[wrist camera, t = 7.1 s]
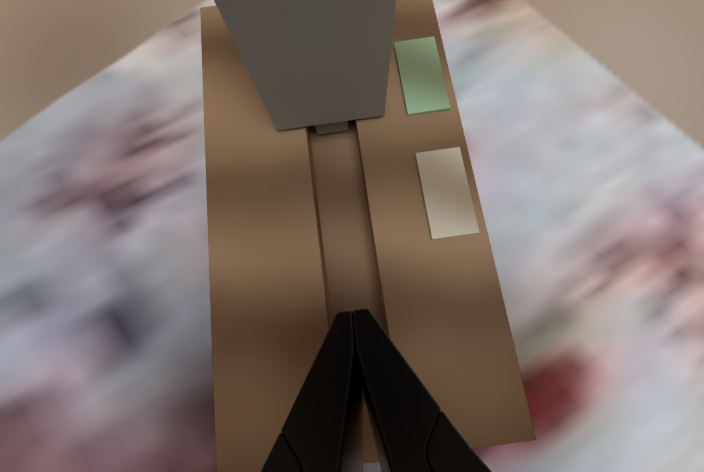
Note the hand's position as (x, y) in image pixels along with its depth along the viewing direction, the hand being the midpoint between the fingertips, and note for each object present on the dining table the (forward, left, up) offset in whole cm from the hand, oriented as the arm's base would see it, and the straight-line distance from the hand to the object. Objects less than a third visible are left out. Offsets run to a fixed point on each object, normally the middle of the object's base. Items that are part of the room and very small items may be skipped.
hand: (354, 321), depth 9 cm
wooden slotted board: (+4, -4, -7) cm, 9 cm away
